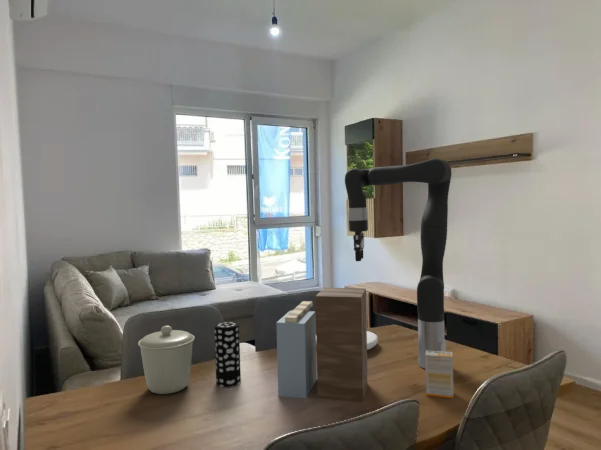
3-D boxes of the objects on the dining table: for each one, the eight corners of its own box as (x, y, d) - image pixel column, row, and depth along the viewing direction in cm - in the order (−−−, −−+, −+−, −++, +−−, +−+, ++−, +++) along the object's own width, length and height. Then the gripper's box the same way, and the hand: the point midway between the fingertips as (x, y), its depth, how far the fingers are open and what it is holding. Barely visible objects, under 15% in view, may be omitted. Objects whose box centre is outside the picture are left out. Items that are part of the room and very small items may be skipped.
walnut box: (326, 380, 155) (324, 287, 153) (367, 383, 151) (365, 288, 150) (317, 398, 141) (315, 296, 140) (362, 401, 138) (361, 297, 136)
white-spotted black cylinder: (245, 379, 157) (243, 322, 156) (231, 388, 150) (230, 328, 149) (225, 376, 161) (223, 320, 160) (211, 385, 153) (209, 326, 152)
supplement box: (453, 392, 143) (453, 351, 142) (453, 399, 138) (453, 356, 138) (426, 389, 145) (426, 349, 145) (425, 395, 141) (425, 354, 140)
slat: (303, 305, 165) (303, 300, 165) (312, 305, 164) (312, 301, 164) (285, 322, 142) (284, 317, 142) (295, 322, 141) (295, 317, 141)
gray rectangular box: (291, 377, 159) (289, 310, 158) (316, 378, 156) (315, 311, 155) (278, 396, 143) (276, 322, 142) (306, 398, 141) (304, 323, 140)
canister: (158, 405, 139) (155, 337, 138) (129, 389, 151) (127, 327, 150) (207, 386, 152) (205, 324, 151) (177, 373, 164) (175, 316, 163)
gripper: (366, 219, 173) (367, 262, 173) (369, 218, 186) (370, 257, 187) (346, 220, 174) (347, 262, 175) (350, 218, 188) (352, 257, 189)
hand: (359, 259), depth 181 cm, fingers open, 8 cm apart
